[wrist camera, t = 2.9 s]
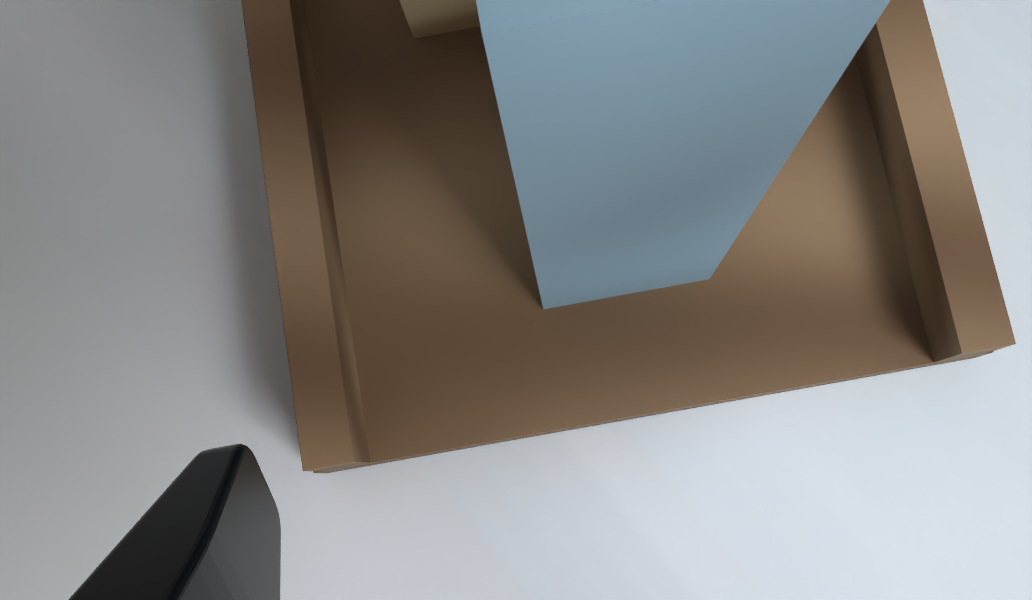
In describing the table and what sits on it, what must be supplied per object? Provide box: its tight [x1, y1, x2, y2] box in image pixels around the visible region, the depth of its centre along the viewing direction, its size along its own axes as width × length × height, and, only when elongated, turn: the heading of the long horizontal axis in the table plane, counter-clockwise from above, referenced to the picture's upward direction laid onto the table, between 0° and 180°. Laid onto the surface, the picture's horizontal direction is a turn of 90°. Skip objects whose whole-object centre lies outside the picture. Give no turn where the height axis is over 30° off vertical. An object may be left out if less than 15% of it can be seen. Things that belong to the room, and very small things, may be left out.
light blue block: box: [476, 0, 890, 309], centre depth 15 cm, size 5×4×13 cm
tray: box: [242, 0, 1016, 473], centre depth 19 cm, size 15×14×7 cm
